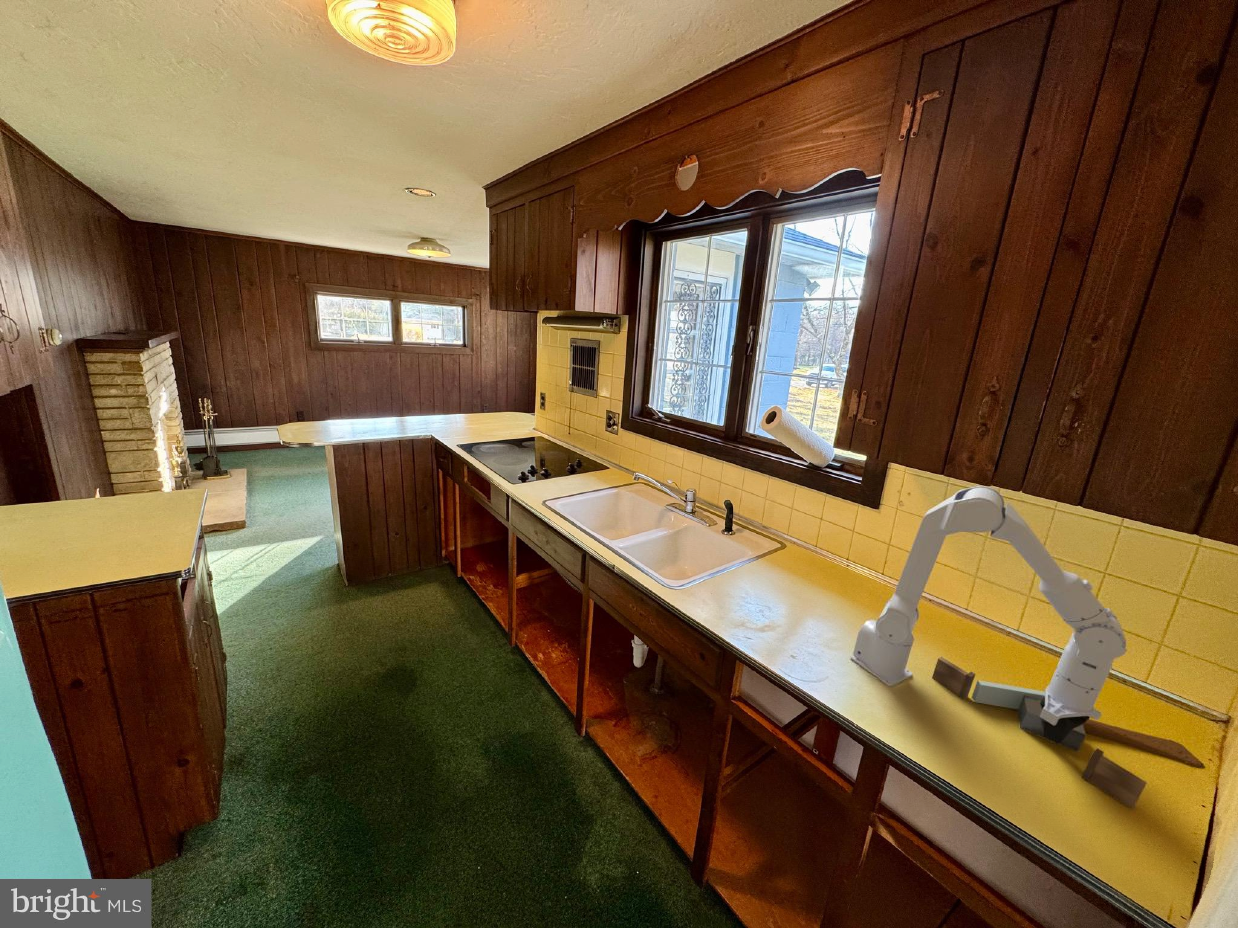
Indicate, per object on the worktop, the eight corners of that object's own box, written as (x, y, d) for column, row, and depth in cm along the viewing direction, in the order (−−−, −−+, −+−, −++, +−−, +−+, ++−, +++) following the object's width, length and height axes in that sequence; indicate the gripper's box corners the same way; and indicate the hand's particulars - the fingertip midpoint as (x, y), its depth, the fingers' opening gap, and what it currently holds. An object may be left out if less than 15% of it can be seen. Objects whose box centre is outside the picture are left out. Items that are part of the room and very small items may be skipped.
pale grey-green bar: (974, 701, 91) (980, 684, 90) (969, 693, 93) (975, 677, 92) (1054, 715, 89) (1062, 698, 88) (1047, 707, 91) (1054, 690, 90)
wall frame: (931, 677, 98) (938, 656, 96) (935, 675, 98) (942, 654, 97) (1130, 809, 72) (1144, 784, 71) (1135, 805, 73) (1149, 779, 71)
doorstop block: (1020, 727, 86) (1026, 711, 85) (1017, 711, 90) (1024, 694, 89) (1077, 751, 82) (1085, 734, 81) (1072, 733, 86) (1080, 716, 85)
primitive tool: (1180, 745, 85) (1188, 730, 84) (1207, 772, 80) (1217, 757, 79) (1057, 719, 89) (1064, 705, 88) (1076, 743, 84) (1083, 728, 83)
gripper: (1092, 708, 72) (1061, 774, 76) (1127, 680, 78) (1097, 741, 83) (1036, 678, 78) (1011, 740, 82) (1073, 654, 84) (1048, 712, 88)
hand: (1051, 738), depth 83 cm, fingers closed
